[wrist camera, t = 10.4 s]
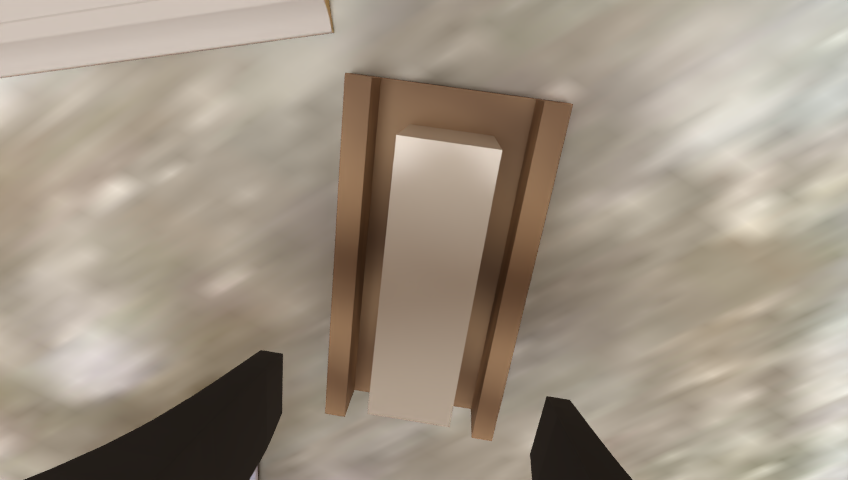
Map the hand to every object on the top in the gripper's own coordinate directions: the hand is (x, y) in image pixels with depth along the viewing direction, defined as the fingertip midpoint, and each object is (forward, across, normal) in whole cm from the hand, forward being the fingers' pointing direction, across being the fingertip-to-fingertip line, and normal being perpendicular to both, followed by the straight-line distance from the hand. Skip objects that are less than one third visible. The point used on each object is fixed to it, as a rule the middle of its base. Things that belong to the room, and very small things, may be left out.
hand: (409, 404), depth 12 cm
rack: (+10, 0, 0) cm, 10 cm away
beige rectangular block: (+9, 0, 0) cm, 9 cm away
